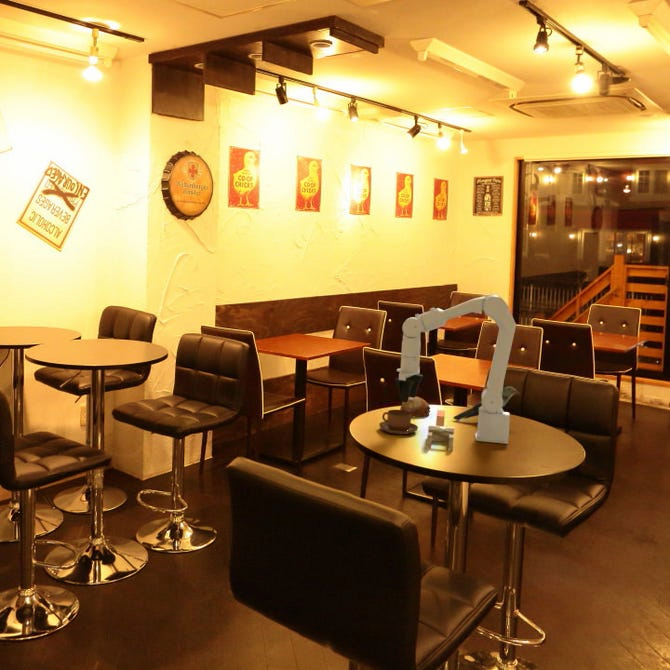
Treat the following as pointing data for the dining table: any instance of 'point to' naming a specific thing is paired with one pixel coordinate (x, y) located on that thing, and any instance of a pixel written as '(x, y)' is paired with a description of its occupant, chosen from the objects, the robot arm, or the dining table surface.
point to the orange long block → (440, 418)
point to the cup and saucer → (398, 422)
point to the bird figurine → (474, 410)
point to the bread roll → (416, 407)
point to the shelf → (440, 435)
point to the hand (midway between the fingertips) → (408, 399)
